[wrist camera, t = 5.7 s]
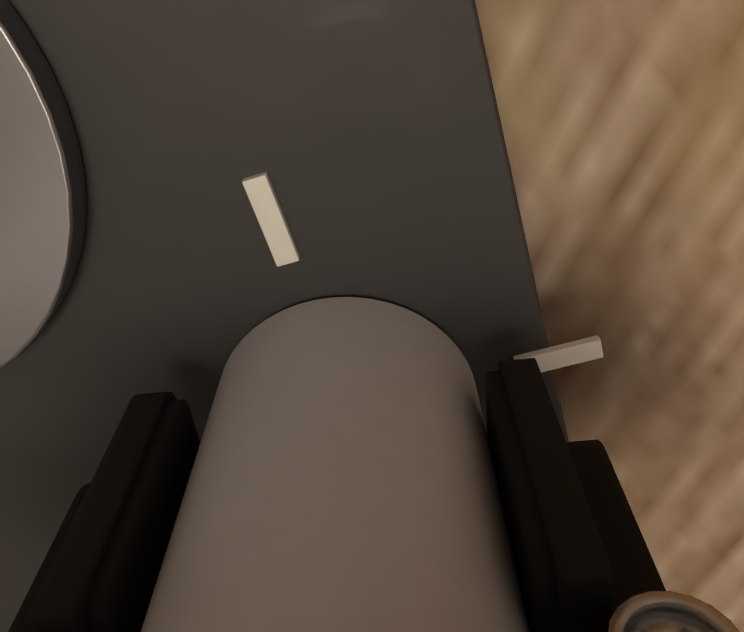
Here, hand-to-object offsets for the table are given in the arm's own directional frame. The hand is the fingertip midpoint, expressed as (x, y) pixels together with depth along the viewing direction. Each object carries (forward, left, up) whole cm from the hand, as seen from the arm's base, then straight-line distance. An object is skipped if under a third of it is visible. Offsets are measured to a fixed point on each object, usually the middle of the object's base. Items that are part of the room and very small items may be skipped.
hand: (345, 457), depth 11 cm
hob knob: (0, 0, -1) cm, 1 cm away
